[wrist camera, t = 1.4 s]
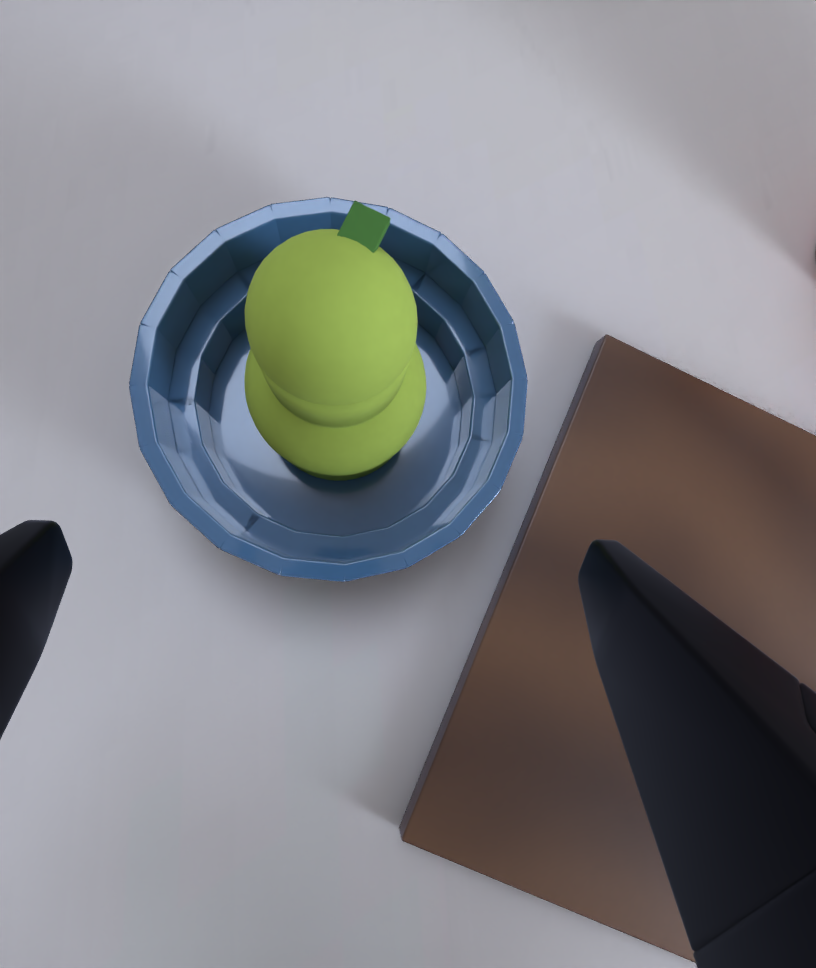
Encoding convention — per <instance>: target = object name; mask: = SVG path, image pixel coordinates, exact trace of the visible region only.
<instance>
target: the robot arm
mask: <svg viewBox="0 0 816 968" xmlns="http://www.w3.org/2000/svg"><path fill="white" fill-rule="evenodd" d="M71 571H72V557H71V554H70V551H69V549H68V546H67V543H66V541H65V538H64V535H63V533H62V530H61V528H60V526H59V525H58V524H57V523H56V522H54V521H45V520H28V521H25V522H23V523H21V524H19V525H17V526H15V527H14V528H12V529H10V530H8V531H6V532H5V533H3V534H1V535H0V739H1V737H2V735H3V733H4V731H5V729H6V727H7V725H8V723H9V721H10V719H11V717H12V715H13V712H14V710H15V708H16V706H17V704H18V702H19V700H20V698H21V696H22V694H23V692H24V690H25V688H26V686H27V684H28V682H29V680H30V678H31V676H32V674H33V672H34V670H35V668H36V665H37V663H38V661H39V659H40V657H41V654H42V652H43V649H44V647H45V644H46V642H47V639H48V636H49V633H50V630H51V627H52V625H53V622H54V619H55V616H56V613H57V611H58V608H59V605H60V602H61V599H62V597H63V594H64V591H65V588H66V585H67V583H68V580H69V577H70V574H71ZM578 584H579V589H580V594H581V599H582V603H583V608H584V613H585V617H586V622H587V627H588V631H589V636H590V640H591V645H592V650H593V654H594V658H595V661H596V665H597V668H598V671H599V674H600V677H601V680H602V683H603V686H604V689H605V692H606V695H607V698H608V701H609V704H610V707H611V710H612V713H613V716H614V719H615V722H616V725H617V728H618V731H619V734H620V737H621V740H622V743H623V746H624V749H625V752H626V755H627V758H628V761H629V764H630V767H631V770H632V773H633V776H634V779H635V782H636V785H637V788H638V791H639V794H640V797H641V800H642V803H643V806H644V809H645V812H646V815H647V817H648V820H649V823H650V826H651V829H652V832H653V835H654V838H655V841H656V844H657V847H658V850H659V853H660V856H661V859H662V862H663V865H664V868H665V871H666V874H667V877H668V880H669V883H670V886H671V889H672V892H673V895H674V898H675V901H676V904H677V907H678V910H679V913H680V916H681V919H682V922H683V925H684V928H685V931H686V934H687V937H688V940H689V943H690V946H691V948H692V950H693V951H694V953H693V956H694V959H695V962H696V965H697V968H816V692H815V691H813V690H812V689H811V688H809V687H808V686H807V685H805V684H804V683H799V680H798V679H797V678H796V677H795V676H794V675H792V674H791V673H790V672H788V671H787V670H786V669H784V668H783V667H782V666H780V665H779V664H778V663H777V662H775V661H774V660H773V659H771V658H770V657H769V656H767V655H766V654H765V653H763V652H762V651H761V650H760V649H758V648H757V647H756V646H754V645H753V644H752V643H750V642H749V641H748V640H746V639H745V638H744V637H743V636H741V635H740V634H739V633H737V632H736V631H735V630H733V629H732V628H731V627H729V626H728V625H727V624H726V623H724V622H723V621H722V620H720V619H719V618H718V617H716V616H715V615H714V614H712V613H711V612H710V611H709V610H707V609H706V608H705V607H703V606H702V605H701V604H699V603H698V602H697V601H696V600H694V599H693V598H692V597H690V596H689V595H688V594H686V593H685V592H684V591H682V590H681V589H680V588H679V587H677V586H676V585H675V584H673V583H672V582H671V581H669V580H668V579H667V578H665V577H664V576H663V575H662V574H660V573H659V572H658V571H656V570H655V569H654V568H652V567H651V566H650V565H648V564H647V563H646V562H645V561H643V560H642V559H641V558H639V557H638V556H637V555H635V554H634V553H633V552H631V551H630V550H629V549H628V548H626V547H625V546H624V545H622V544H621V543H620V542H618V541H616V540H602V539H597V540H594V541H593V542H592V543H591V544H590V546H589V548H588V550H587V553H586V555H585V558H584V560H583V563H582V565H581V568H580V570H579V574H578Z"/></svg>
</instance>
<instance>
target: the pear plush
mask: <svg viewBox="0 0 816 968" xmlns="http://www.w3.org/2000/svg"><path fill="white" fill-rule="evenodd" d="M390 220H391V218H390V217H388V216H386V215H384V214H382V213H380V212H378V211H375V210H373V209H371V208H369V207H367V206H365V205H363V204H361V203H359V202H357V201H354V202H353V204H352V206H351V208H350V210H349V212H348V214H347V216H346V218H345V220H344V222H343V224H342V226H341V228H340V230H337V229H318V230H312V231H307V232H304V233H301V234H298V235H296V236H293V237H291V238H290V239H288V240H286V241H285V242H283V243H282V244H280V245H279V246H277V247H276V248H275V249H274V250H273V251H272V252H271V253H270V254H269V255H267V256H266V257H265V258H264V260H263V261H262V263H261V264H260V266H259V267H258V269H257V270H256V271H255V274H254V276H253V279H252V281H251V284H250V286H249V289H248V293H247V298H246V304H245V327H246V332H247V337H248V341H249V344H250V348H251V349H250V351H249V354H248V358H247V362H246V368H245V378H244V379H245V396H246V402H247V405H248V409H249V412H250V415H251V417H252V419H253V421H254V424H255V426H256V428H257V429H258V431H259V433H260V434H261V436H262V437H263V438H264V440H265V441H266V442H267V443H268V445H269V446H270V447H271V448H272V449H273V450H275V451H276V452H277V453H278V454H279V455H280V456H282V457H283V458H285V459H286V460H287V461H289V462H290V463H292V464H293V465H294V466H296V467H297V468H298V469H300V470H302V471H304V472H305V473H307V474H310V475H312V476H315V477H318V478H322V479H326V480H335V481H340V480H351V479H356V478H360V477H363V476H365V475H368V474H370V473H372V472H374V471H376V470H377V469H379V468H380V467H382V466H383V465H384V464H385V463H387V462H388V461H389V460H390V459H391V458H392V457H393V456H394V455H395V454H396V453H397V452H398V451H399V450H400V449H401V448H402V447H403V446H404V445H405V444H406V443H407V441H408V440H409V439H410V437H411V436H412V434H413V433H414V431H415V429H416V427H417V425H418V423H419V420H420V418H421V415H422V412H423V408H424V403H425V398H426V375H425V369H424V364H423V360H422V357H421V354H420V351H419V349H418V347H417V345H416V343H415V342H416V336H417V324H418V320H417V307H416V303H415V299H414V296H413V292H412V289H411V287H410V284H409V283H408V281H407V279H406V277H405V275H404V273H403V271H402V269H401V268H400V267H399V265H398V264H397V263H396V262H395V260H394V259H393V258H392V257H391V256H390V255H389V254H388V253H386V252H385V251H384V250H383V249H382V248H381V247H379V245H380V243H381V241H382V239H383V237H384V235H385V233H386V231H387V229H388V227H389V225H390Z"/></svg>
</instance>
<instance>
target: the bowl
mask: <svg viewBox="0 0 816 968" xmlns="http://www.w3.org/2000/svg"><path fill="white" fill-rule="evenodd" d="M353 202H354V201H350V200H344V199H338V198H329V197H324V198H316V199H308V200H300V201H292V202H284V203H276V204H271V205H268V206H265V207H263V208H261V209H259V210H257V211H254V212H252V213H250V214H248V215H245V216H243V217H241V218H239V219H237V220H234V221H232V222H230V223H228V224H225V225H223V226H221V227H219V228H217V229H216V231H215V230H213V231H212V232H211V233H210V234H209V235H208V236H207V237H206V238H205V239H203V240H202V241H201V242H200V243H199V244H198V245H197V246H196V247H195V248H194V249H192V250H191V251H190V252H189V253H188V254H187V255H186V256H185V257H184V258H183V259H181V260H180V261H179V262H178V263H177V264H176V265H175V266H174V267H173V268H171V270H170V271H169V272H168V274H167V276H166V278H165V279H164V281H163V283H162V285H161V287H160V288H159V290H158V292H157V294H156V296H155V297H154V299H153V301H152V303H151V305H150V306H149V308H148V310H147V312H146V313H145V315H144V317H143V319H142V321H141V323H140V324H141V325H139V330H138V336H137V342H136V347H135V353H134V359H133V365H132V370H131V376H130V382H129V385H130V386H129V390H130V396H131V402H132V408H133V414H134V420H135V425H136V431H137V437H138V443H139V447H140V450H141V452H142V454H143V456H144V458H145V460H146V461H147V463H148V465H149V467H150V469H151V470H152V472H153V474H154V476H155V478H156V480H157V481H158V483H159V485H160V487H161V489H162V490H163V492H164V494H165V496H166V498H167V499H168V501H169V503H170V504H171V506H172V507H173V508H174V509H176V510H177V511H178V512H179V513H180V514H181V515H182V516H183V517H184V518H185V519H187V520H188V521H189V522H190V523H191V524H192V525H193V526H194V527H195V528H196V529H198V530H199V531H200V532H201V533H202V534H203V535H204V536H205V537H206V538H207V539H209V540H210V541H211V542H212V543H213V544H214V545H215V546H216V547H217V548H220V549H221V550H223V551H225V552H227V553H229V554H232V555H234V556H236V557H238V558H241V559H243V560H245V561H247V562H250V563H252V564H254V565H257V566H259V567H261V568H263V569H266V570H268V571H270V572H272V573H275V574H277V575H281V576H287V577H298V578H308V579H318V580H328V581H339V582H344V581H346V582H348V581H352V580H357V579H361V578H366V577H370V576H375V575H379V574H384V573H388V572H393V571H397V570H402V569H406V568H407V567H410V566H412V565H414V564H415V563H417V562H419V561H420V560H422V559H424V558H425V557H427V556H429V555H430V554H432V553H434V552H436V551H437V550H439V549H441V548H442V547H444V546H446V545H447V544H449V543H451V542H452V541H454V540H456V539H457V538H459V537H460V536H462V535H463V534H464V532H465V531H466V530H467V529H468V528H469V527H470V526H471V524H472V523H473V522H474V521H475V520H476V519H477V518H478V516H479V515H480V514H481V513H482V512H483V511H484V509H485V508H486V507H487V506H488V505H489V504H490V503H491V501H492V500H493V499H494V498H495V497H496V496H497V495H498V493H499V492H500V490H501V489H502V486H503V484H504V481H505V479H506V477H507V474H508V472H509V469H510V467H511V465H512V462H513V460H514V457H515V455H516V453H517V450H518V448H519V445H520V443H521V441H522V436H523V433H524V420H525V407H526V395H527V382H528V380H527V374H526V370H525V365H524V361H523V357H522V353H521V348H520V344H519V340H518V336H517V332H516V327H515V324H514V322H513V319H512V318H511V316H510V314H509V313H508V311H507V309H506V307H505V306H504V304H503V302H502V301H501V299H500V297H499V296H498V294H497V292H496V291H495V289H494V287H493V286H492V284H491V282H490V280H489V279H488V277H487V275H486V274H484V271H483V270H482V269H481V268H480V267H478V266H477V265H476V264H475V263H474V262H473V261H472V260H471V259H470V258H469V257H468V256H466V255H465V254H464V253H463V252H462V251H461V250H460V249H459V248H458V247H457V246H456V245H455V244H453V243H452V242H451V241H450V240H449V239H448V238H447V237H446V236H445V235H444V234H441V233H440V232H439V231H437V230H434V229H432V228H430V227H428V226H426V225H424V224H422V223H420V222H418V221H416V220H414V219H412V218H410V217H408V216H406V215H404V214H402V213H400V212H398V211H396V210H394V209H391V208H389V209H388V207H385V206H379V205H373V204H367V203H361V202H359V203H361V204H363V205H365V206H367V207H369V208H371V209H373V210H375V211H378V212H380V213H382V214H384V215H386V216H388V217H390V218H391V220H390V225H389V227H388V229H387V231H386V233H385V235H384V237H383V239H382V241H381V243H380V245H379V247H381V248H382V249H383V250H384V251H385V252H386V253H388V254H389V255H390V256H391V257H392V258H393V259H394V260H395V262H396V263H397V264H398V265H399V267H400V268H401V269H402V271H403V273H404V275H405V277H406V279H407V281H408V283H409V284H410V287H411V289H412V292H413V296H414V299H415V303H416V307H417V320H418V324H417V336H416V342H415V343H416V345H417V347H418V349H419V351H420V354H421V357H422V360H423V364H424V369H425V375H426V398H425V403H424V408H423V412H422V415H421V418H420V420H419V423H418V425H417V427H416V429H415V431H414V433H413V434H412V436H411V437H410V439H409V440H408V441H407V443H406V444H405V445H404V446H403V447H402V448H401V449H400V450H399V451H398V452H397V453H396V454H395V455H394V456H393V457H392V458H391V459H390V460H389V461H388V462H387V463H385V464H384V465H383V466H382V467H380V468H379V469H377V470H376V471H374V472H372V473H370V474H368V475H365V476H363V477H360V478H356V479H351V480H340V481H335V480H326V479H322V478H318V477H315V476H312V475H310V474H307V473H305V472H304V471H302V470H300V469H298V468H297V467H296V466H294V465H293V464H292V463H290V462H289V461H287V460H286V459H285V458H283V457H282V456H280V455H279V454H278V453H277V452H276V451H275V450H273V449H272V448H271V447H270V446H269V445H268V443H267V442H266V441H265V440H264V438H263V437H262V436H261V434H260V433H259V431H258V429H257V428H256V426H255V424H254V421H253V419H252V417H251V415H250V412H249V409H248V405H247V402H246V396H245V379H244V378H245V368H246V362H247V358H248V354H249V351H250V349H251V348H250V344H249V341H248V337H247V332H246V327H245V304H246V298H247V293H248V289H249V286H250V284H251V281H252V279H253V276H254V274H255V271H256V270H257V269H258V267H259V266H260V264H261V263H262V261H263V260H264V258H265V257H266V256H267V255H269V254H270V253H271V252H272V251H273V250H274V249H275V248H276V247H277V246H279V245H280V244H282V243H283V242H285V241H286V240H288V239H290V238H291V237H293V236H296V235H298V234H301V233H304V232H307V231H312V230H318V229H337V230H340V228H341V226H342V224H343V222H344V220H345V218H346V216H347V214H348V212H349V210H350V208H351V206H352V204H353Z"/></svg>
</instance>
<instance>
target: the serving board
mask: <svg viewBox="0 0 816 968" xmlns="http://www.w3.org/2000/svg"><path fill="white" fill-rule="evenodd" d="M597 539H602V540H616V541H618V542H620V543H621V544H622V545H624V546H625V547H626V548H628V549H629V550H630V551H631V552H633V553H634V554H635V555H637V556H638V557H639V558H641V559H642V560H643V561H645V562H646V563H647V564H648V565H650V566H651V567H652V568H654V569H655V570H656V571H658V572H659V573H660V574H662V575H663V576H664V577H665V578H667V579H668V580H669V581H671V582H672V583H673V584H675V585H676V586H677V587H679V588H680V589H681V590H682V591H684V592H685V593H686V594H688V595H689V596H690V597H692V598H693V599H694V600H696V601H697V602H698V603H699V604H701V605H702V606H703V607H705V608H706V609H707V610H709V611H710V612H711V613H712V614H714V615H715V616H716V617H718V618H719V619H720V620H722V621H723V622H724V623H726V624H727V625H728V626H729V627H731V628H732V629H733V630H735V631H736V632H737V633H739V634H740V635H741V636H743V637H744V638H745V639H746V640H748V641H749V642H750V643H752V644H753V645H754V646H756V647H757V648H758V649H760V650H761V651H762V652H763V653H765V654H766V655H767V656H769V657H770V658H771V659H773V660H774V661H775V662H777V663H778V664H779V665H780V666H782V667H783V668H784V669H786V670H787V671H788V672H790V673H791V674H792V675H794V676H795V677H796V678H797V679H798V680H799V683H804V684H805V685H807V686H808V687H809V688H811V689H812V690H813V691H815V692H816V436H815V435H813V434H811V433H809V432H807V431H805V430H803V429H800V428H798V427H796V426H794V425H792V424H790V423H788V422H786V421H784V420H782V419H780V418H778V417H776V416H774V415H772V414H770V413H768V412H766V411H763V410H761V409H759V408H757V407H755V406H753V405H751V404H749V403H747V402H745V401H743V400H741V399H739V398H737V397H735V396H733V395H731V394H728V393H726V392H724V391H722V390H720V389H718V388H716V387H714V386H712V385H710V384H708V383H706V382H704V381H702V380H700V379H698V378H696V377H693V376H691V375H689V374H687V373H685V372H683V371H681V370H679V369H677V368H675V367H673V366H671V365H669V364H667V363H665V362H663V361H661V360H658V359H656V358H654V357H652V356H650V355H648V354H646V353H644V352H642V351H640V350H638V349H636V348H634V347H632V346H630V345H628V344H626V343H624V342H621V341H619V340H617V339H615V338H613V337H611V336H609V335H605V336H604V337H602V338H601V339H600V340H599V341H597V342H596V344H595V347H594V349H593V352H592V354H591V356H590V359H589V361H588V364H587V366H586V369H585V371H584V374H583V376H582V379H581V381H580V383H579V386H578V388H577V391H576V393H575V396H574V398H573V401H572V403H571V406H570V408H569V411H568V413H567V415H566V418H565V420H564V423H563V425H562V428H561V430H560V433H559V435H558V438H557V440H556V442H555V445H554V447H553V450H552V452H551V455H550V457H549V460H548V462H547V465H546V467H545V470H544V472H543V474H542V477H541V479H540V482H539V484H538V487H537V489H536V492H535V494H534V497H533V499H532V501H531V504H530V506H529V509H528V511H527V514H526V516H525V519H524V521H523V524H522V526H521V529H520V531H519V533H518V536H517V538H516V541H515V543H514V546H513V548H512V551H511V553H510V556H509V558H508V561H507V563H506V565H505V568H504V570H503V573H502V575H501V578H500V580H499V583H498V585H497V588H496V590H495V592H494V595H493V597H492V600H491V602H490V605H489V607H488V610H487V612H486V615H485V617H484V620H483V622H482V624H481V627H480V629H479V632H478V634H477V637H476V639H475V642H474V644H473V647H472V649H471V651H470V654H469V656H468V659H467V661H466V664H465V666H464V669H463V671H462V674H461V676H460V679H459V681H458V683H457V686H456V688H455V691H454V693H453V696H452V698H451V701H450V703H449V706H448V708H447V710H446V713H445V715H444V718H443V720H442V723H441V725H440V728H439V730H438V733H437V735H436V738H435V740H434V742H433V745H432V747H431V750H430V752H429V755H428V757H427V760H426V762H425V765H424V767H423V770H422V772H421V774H420V777H419V779H418V782H417V784H416V787H415V789H414V792H413V794H412V797H411V799H410V801H409V804H408V806H407V809H406V811H405V814H404V816H403V819H402V821H401V824H400V827H399V828H400V834H401V839H402V840H403V841H404V842H407V843H409V844H412V845H414V846H416V847H419V848H421V849H424V850H426V851H428V852H431V853H433V854H436V855H438V856H440V857H443V858H445V859H448V860H450V861H452V862H455V863H457V864H460V865H462V866H464V867H467V868H469V869H472V870H474V871H476V872H479V873H481V874H484V875H486V876H489V877H491V878H493V879H496V880H498V881H501V882H503V883H505V884H508V885H510V886H513V887H515V888H517V889H520V890H522V891H525V892H527V893H529V894H532V895H534V896H537V897H539V898H541V899H544V900H546V901H549V902H551V903H553V904H556V905H558V906H561V907H563V908H566V909H568V910H570V911H573V912H575V913H578V914H580V915H582V916H585V917H587V918H590V919H592V920H594V921H597V922H599V923H602V924H604V925H606V926H609V927H611V928H614V929H616V930H618V931H621V932H623V933H626V934H628V935H630V936H633V937H635V938H638V939H640V940H643V941H645V942H647V943H650V944H652V945H655V946H657V947H659V948H662V949H664V950H667V951H669V952H671V953H674V954H676V955H679V956H681V957H683V958H686V959H688V960H691V961H693V962H695V959H694V956H693V953H694V951H693V950H692V948H691V946H690V943H689V940H688V937H687V934H686V931H685V928H684V925H683V922H682V919H681V916H680V913H679V910H678V907H677V904H676V901H675V898H674V895H673V892H672V889H671V886H670V883H669V880H668V877H667V874H666V871H665V868H664V865H663V862H662V859H661V856H660V853H659V850H658V847H657V844H656V841H655V838H654V835H653V832H652V829H651V826H650V823H649V820H648V817H647V815H646V812H645V809H644V806H643V803H642V800H641V797H640V794H639V791H638V788H637V785H636V782H635V779H634V776H633V773H632V770H631V767H630V764H629V761H628V758H627V755H626V752H625V749H624V746H623V743H622V740H621V737H620V734H619V731H618V728H617V725H616V722H615V719H614V716H613V713H612V710H611V707H610V704H609V701H608V698H607V695H606V692H605V689H604V686H603V683H602V680H601V677H600V674H599V671H598V668H597V665H596V661H595V658H594V654H593V650H592V645H591V640H590V636H589V631H588V627H587V622H586V617H585V613H584V608H583V603H582V599H581V594H580V589H579V584H578V574H579V570H580V568H581V565H582V563H583V560H584V558H585V555H586V553H587V550H588V548H589V546H590V544H591V543H592V542H593V541H594V540H597ZM695 963H696V962H695Z"/></svg>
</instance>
